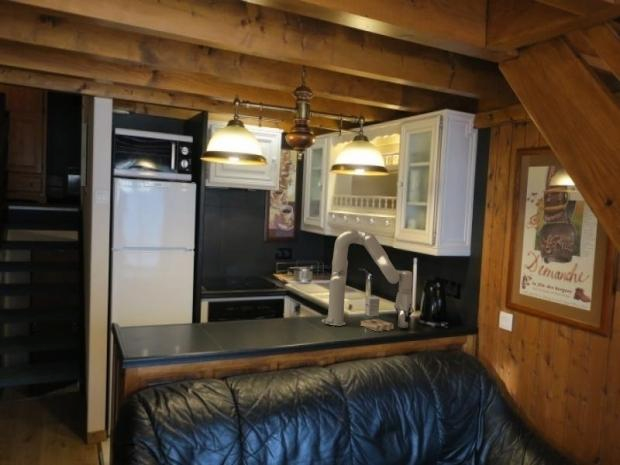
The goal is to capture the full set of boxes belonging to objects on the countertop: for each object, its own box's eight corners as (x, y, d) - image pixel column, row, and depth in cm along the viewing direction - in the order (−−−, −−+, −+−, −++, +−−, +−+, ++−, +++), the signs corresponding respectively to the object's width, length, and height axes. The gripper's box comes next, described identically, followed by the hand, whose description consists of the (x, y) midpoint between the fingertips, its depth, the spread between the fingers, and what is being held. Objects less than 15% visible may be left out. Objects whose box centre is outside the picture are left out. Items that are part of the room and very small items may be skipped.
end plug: (403, 328, 295) (404, 308, 294) (395, 326, 300) (396, 306, 300) (410, 327, 299) (411, 307, 298) (402, 324, 304) (403, 305, 304)
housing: (376, 332, 291) (376, 326, 291) (360, 326, 302) (360, 321, 302) (393, 329, 299) (393, 323, 299) (377, 324, 310) (377, 318, 310)
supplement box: (364, 314, 336) (365, 296, 335) (374, 314, 338) (375, 296, 337) (368, 317, 329) (369, 298, 328) (378, 317, 331) (379, 298, 330)
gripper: (390, 289, 303) (388, 318, 304) (411, 294, 289) (409, 324, 290) (398, 288, 307) (397, 316, 308) (420, 293, 293) (418, 323, 295)
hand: (403, 320), depth 299 cm, fingers closed on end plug, 6 cm apart
